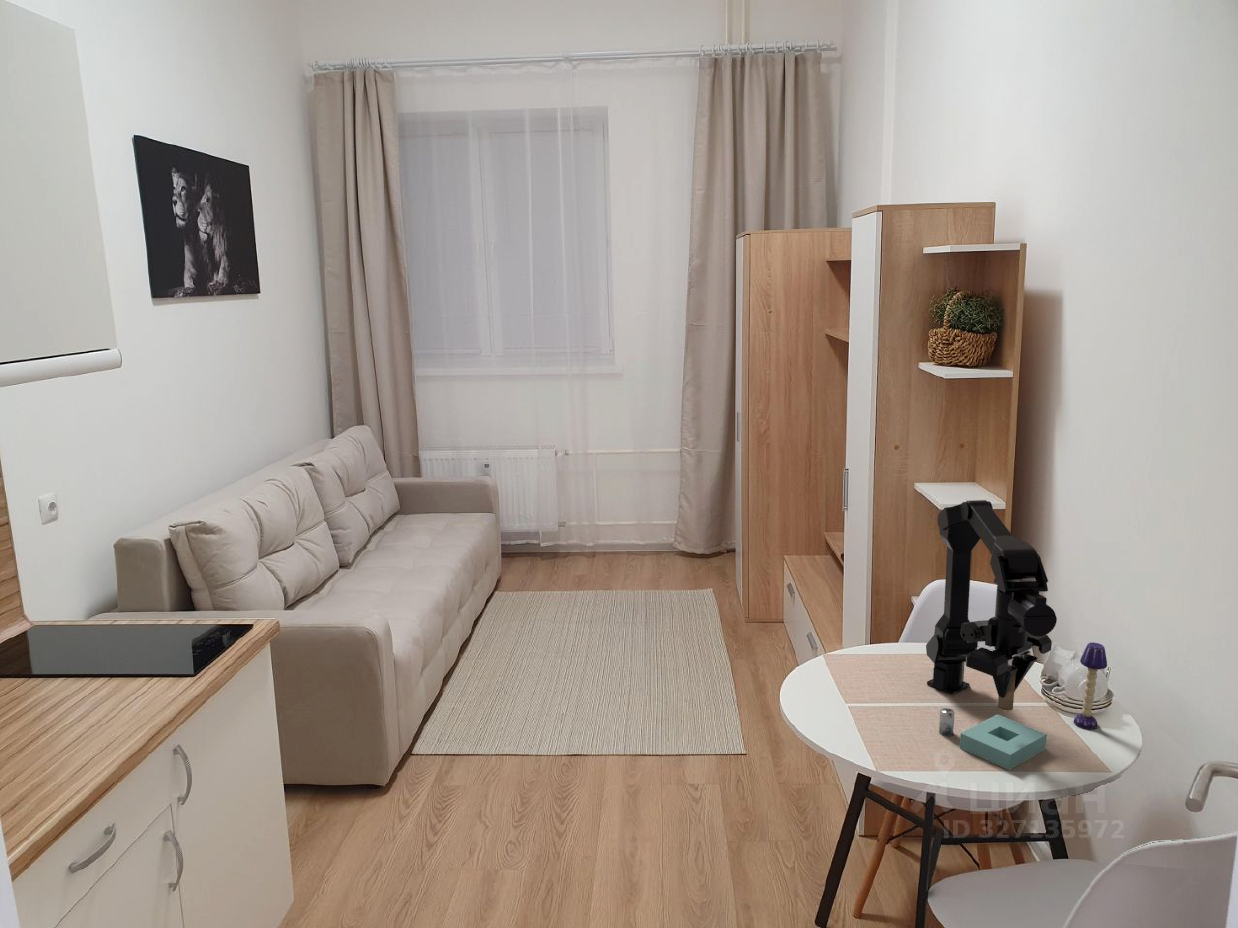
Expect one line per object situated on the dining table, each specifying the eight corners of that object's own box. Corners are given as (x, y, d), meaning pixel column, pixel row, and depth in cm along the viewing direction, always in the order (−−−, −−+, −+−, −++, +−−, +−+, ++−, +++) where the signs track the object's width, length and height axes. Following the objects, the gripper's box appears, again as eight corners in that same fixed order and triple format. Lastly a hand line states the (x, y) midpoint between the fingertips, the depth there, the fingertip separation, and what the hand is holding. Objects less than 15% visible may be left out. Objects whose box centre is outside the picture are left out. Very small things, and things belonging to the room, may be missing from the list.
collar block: (996, 728, 182) (997, 714, 181) (1045, 748, 174) (1046, 734, 173) (959, 747, 175) (960, 733, 174) (1009, 769, 167) (1010, 754, 166)
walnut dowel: (1002, 702, 174) (1005, 662, 173) (1015, 707, 172) (1018, 667, 171) (994, 706, 173) (997, 666, 171) (1007, 711, 171) (1010, 671, 169)
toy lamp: (1099, 721, 184) (1106, 641, 180) (1102, 732, 180) (1110, 650, 176) (1072, 717, 185) (1079, 638, 182) (1075, 728, 181) (1082, 647, 178)
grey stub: (944, 728, 182) (945, 706, 181) (956, 733, 180) (957, 711, 179) (936, 732, 181) (937, 710, 180) (947, 737, 179) (949, 715, 178)
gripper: (1000, 591, 181) (995, 666, 184) (942, 613, 170) (937, 693, 173) (1056, 607, 172) (1049, 686, 175) (998, 632, 161) (992, 715, 164)
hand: (1006, 694), depth 172 cm, fingers closed on walnut dowel, 3 cm apart
